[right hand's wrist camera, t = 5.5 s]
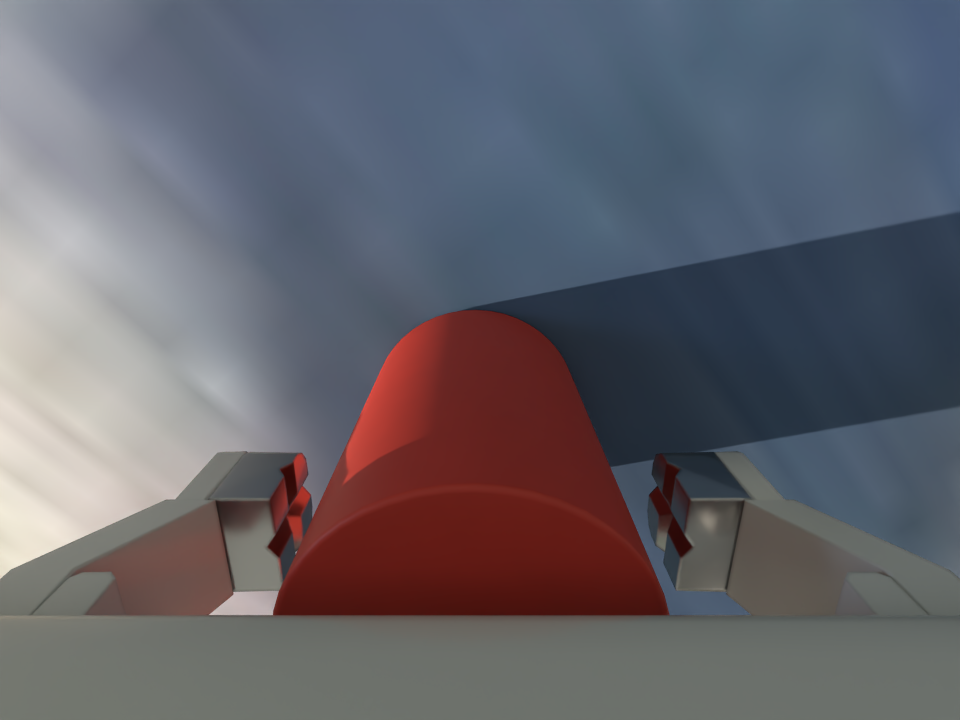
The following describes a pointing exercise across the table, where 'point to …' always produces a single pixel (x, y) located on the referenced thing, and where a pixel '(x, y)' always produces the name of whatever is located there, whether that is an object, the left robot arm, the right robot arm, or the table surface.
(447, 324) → the can
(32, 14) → the table surface
